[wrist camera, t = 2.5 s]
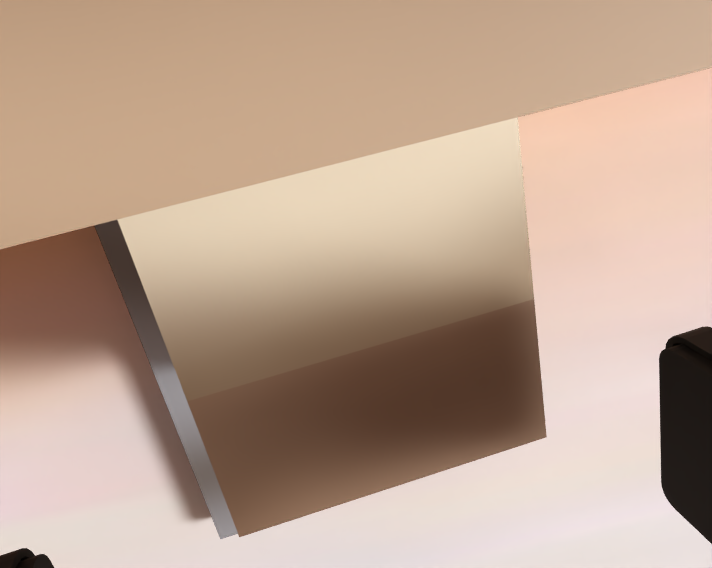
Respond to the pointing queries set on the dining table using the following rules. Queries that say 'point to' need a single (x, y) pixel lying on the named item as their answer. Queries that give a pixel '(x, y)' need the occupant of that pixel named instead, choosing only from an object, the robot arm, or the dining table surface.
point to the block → (351, 321)
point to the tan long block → (280, 104)
